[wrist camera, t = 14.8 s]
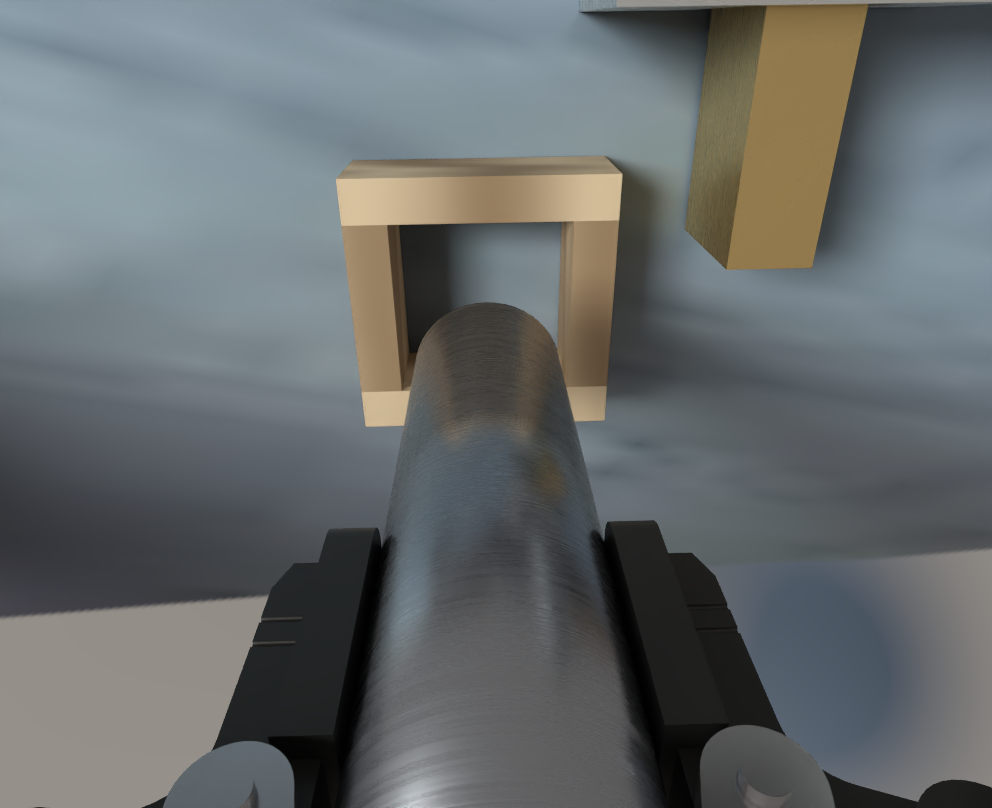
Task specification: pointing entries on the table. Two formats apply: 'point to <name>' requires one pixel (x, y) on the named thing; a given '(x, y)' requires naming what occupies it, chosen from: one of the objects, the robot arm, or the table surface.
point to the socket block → (753, 4)
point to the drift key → (770, 130)
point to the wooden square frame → (479, 199)
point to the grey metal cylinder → (495, 598)
